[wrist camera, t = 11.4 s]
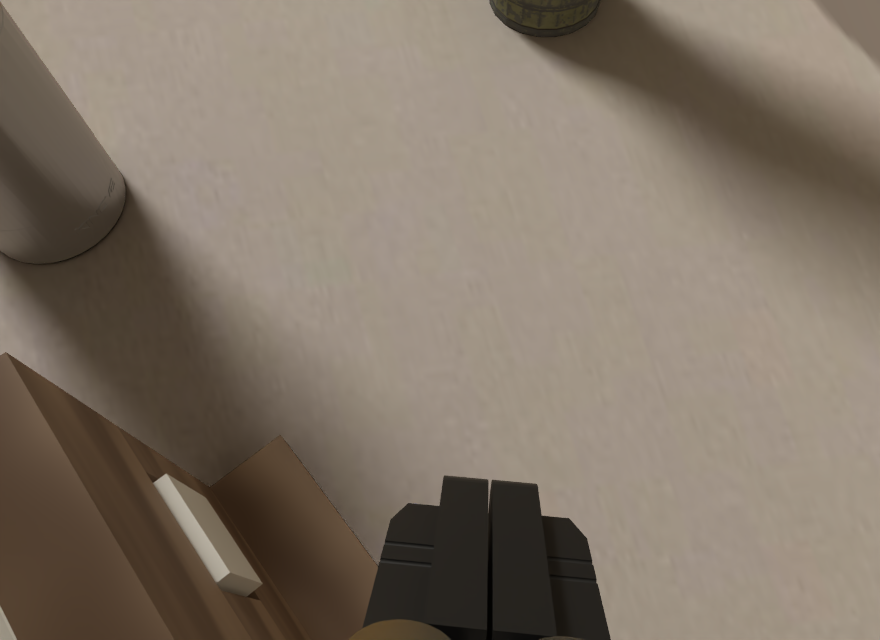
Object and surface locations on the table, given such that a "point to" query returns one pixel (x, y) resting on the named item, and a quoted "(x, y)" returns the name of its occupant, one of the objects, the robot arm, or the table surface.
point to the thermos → (545, 15)
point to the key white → (197, 542)
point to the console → (158, 535)
